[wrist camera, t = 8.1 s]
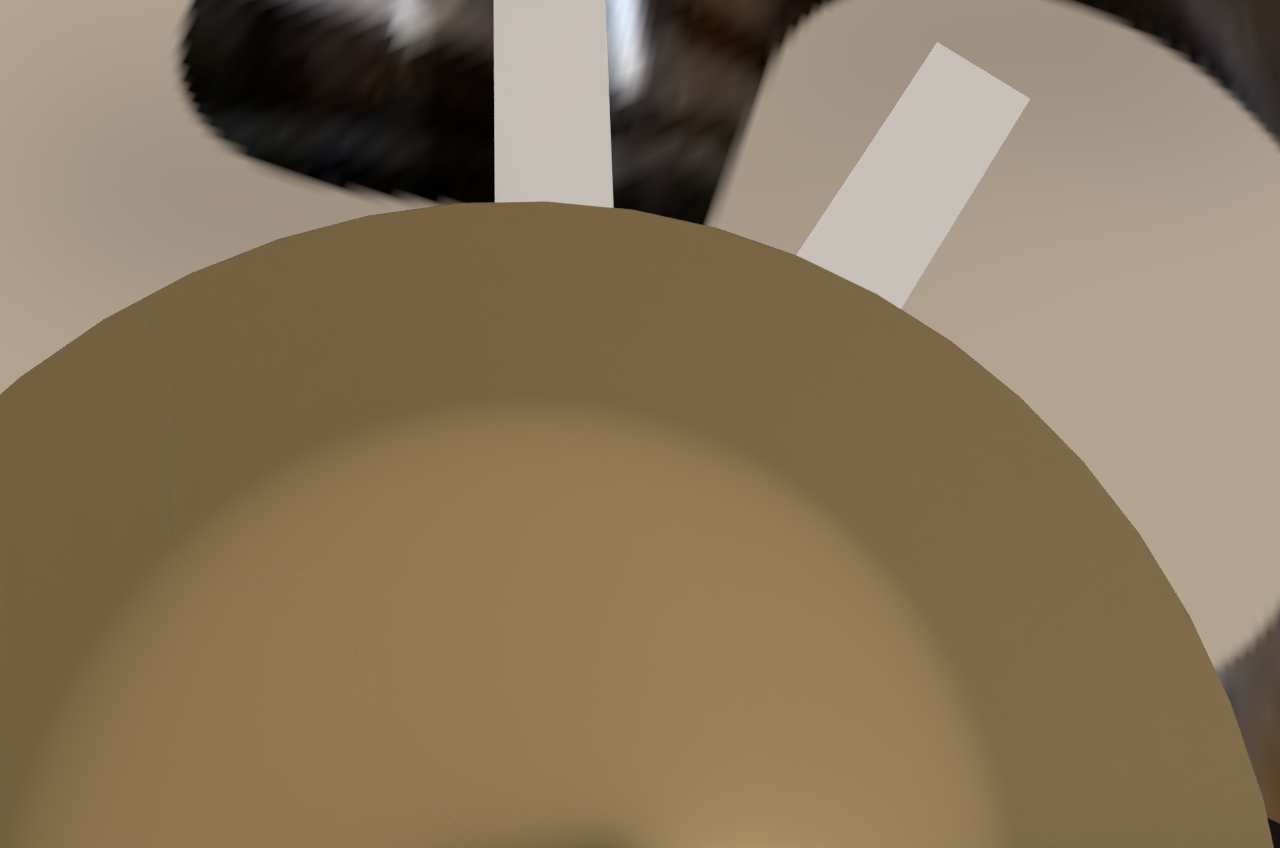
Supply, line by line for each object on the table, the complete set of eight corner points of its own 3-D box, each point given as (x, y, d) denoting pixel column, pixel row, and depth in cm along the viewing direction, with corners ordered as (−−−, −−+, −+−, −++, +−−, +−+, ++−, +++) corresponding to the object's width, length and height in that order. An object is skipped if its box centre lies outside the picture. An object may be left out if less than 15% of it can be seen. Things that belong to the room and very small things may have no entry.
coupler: (653, 995, 15) (1347, 2040, 3) (314, 959, 15) (-681, 1975, 2) (687, 655, 16) (1261, 308, 4) (376, 615, 16) (-56, 101, 4)
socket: (555, 1044, 19) (566, 1099, 16) (-61, 615, 20) (-172, 584, 17) (1052, 195, 25) (1136, 107, 22) (560, -109, 26) (568, -237, 23)
